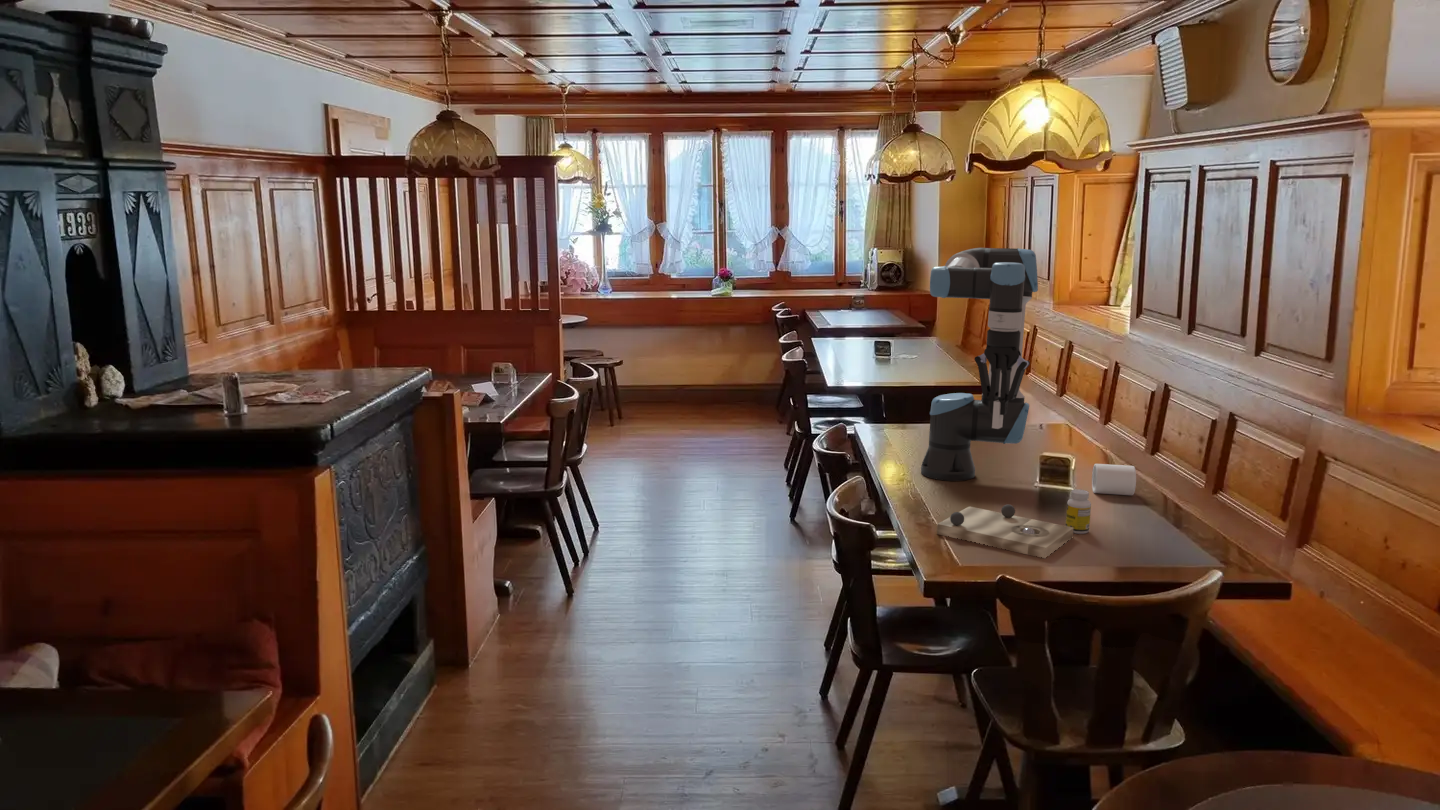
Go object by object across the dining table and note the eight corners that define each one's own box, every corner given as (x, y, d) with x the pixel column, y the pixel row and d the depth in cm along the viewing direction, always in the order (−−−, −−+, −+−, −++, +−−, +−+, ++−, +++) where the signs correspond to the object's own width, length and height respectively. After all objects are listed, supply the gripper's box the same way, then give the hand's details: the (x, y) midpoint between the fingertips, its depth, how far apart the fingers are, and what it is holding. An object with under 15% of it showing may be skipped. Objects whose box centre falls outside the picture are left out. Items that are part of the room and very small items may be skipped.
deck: (936, 534, 239) (937, 523, 238) (968, 515, 253) (969, 506, 252) (1045, 558, 223) (1046, 547, 223) (1072, 537, 237) (1073, 527, 237)
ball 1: (947, 525, 237) (948, 512, 237) (953, 522, 240) (954, 509, 239) (960, 528, 235) (961, 515, 235) (966, 525, 238) (966, 511, 237)
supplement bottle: (1061, 527, 245) (1064, 488, 243) (1082, 526, 246) (1086, 488, 244) (1070, 534, 240) (1074, 494, 238) (1092, 534, 240) (1096, 494, 238)
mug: (1134, 499, 269) (1137, 470, 268) (1095, 496, 271) (1097, 467, 270) (1126, 486, 281) (1128, 459, 279) (1088, 484, 283) (1091, 456, 281)
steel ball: (1017, 531, 234) (1030, 529, 232) (1022, 526, 236) (1035, 524, 235) (1021, 544, 234) (1034, 542, 232) (1026, 539, 237) (1039, 538, 235)
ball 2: (998, 517, 244) (999, 505, 243) (1003, 514, 246) (1004, 501, 245) (1011, 520, 242) (1012, 507, 241) (1016, 517, 244) (1017, 504, 243)
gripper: (971, 328, 238) (964, 426, 242) (1025, 333, 230) (1017, 434, 235) (984, 325, 243) (977, 420, 248) (1037, 330, 236) (1029, 428, 240)
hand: (997, 427), depth 241 cm, fingers closed
